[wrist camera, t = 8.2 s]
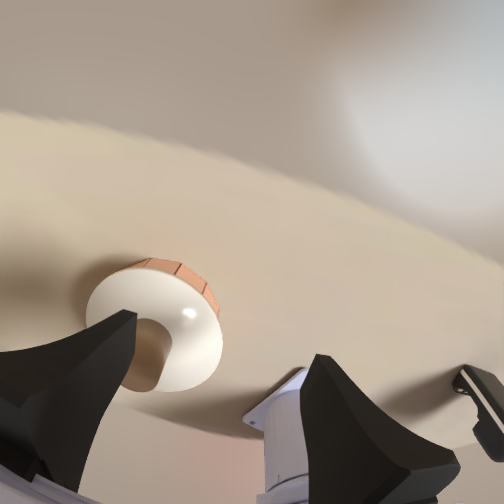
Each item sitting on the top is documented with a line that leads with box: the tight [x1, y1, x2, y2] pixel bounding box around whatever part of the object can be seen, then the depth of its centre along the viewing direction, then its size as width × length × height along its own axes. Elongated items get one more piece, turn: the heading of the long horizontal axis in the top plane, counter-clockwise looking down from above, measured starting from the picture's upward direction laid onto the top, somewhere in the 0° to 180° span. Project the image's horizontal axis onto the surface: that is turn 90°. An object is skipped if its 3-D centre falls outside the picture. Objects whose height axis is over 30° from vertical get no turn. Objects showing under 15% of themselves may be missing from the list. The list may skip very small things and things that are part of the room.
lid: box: [86, 267, 223, 392], centre depth 17 cm, size 9×9×4 cm
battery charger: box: [452, 365, 504, 462], centre depth 19 cm, size 7×4×11 cm, turn 65°
